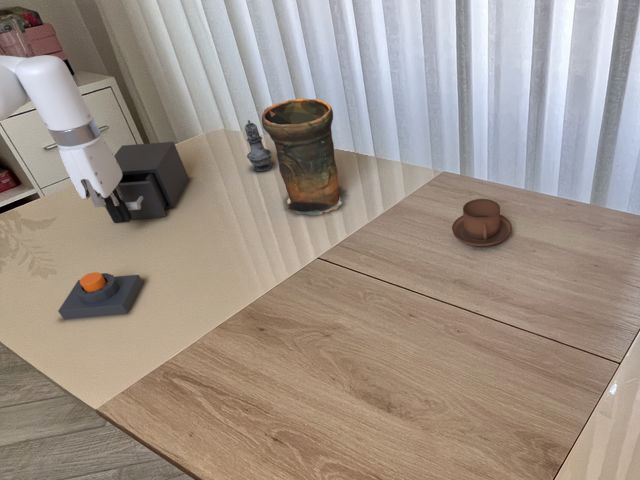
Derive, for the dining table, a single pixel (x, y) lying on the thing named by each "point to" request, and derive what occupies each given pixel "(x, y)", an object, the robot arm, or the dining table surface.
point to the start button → (92, 281)
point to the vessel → (305, 153)
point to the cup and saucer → (481, 224)
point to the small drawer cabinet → (156, 166)
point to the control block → (102, 298)
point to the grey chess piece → (257, 150)
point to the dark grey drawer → (143, 195)
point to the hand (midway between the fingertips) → (123, 220)
